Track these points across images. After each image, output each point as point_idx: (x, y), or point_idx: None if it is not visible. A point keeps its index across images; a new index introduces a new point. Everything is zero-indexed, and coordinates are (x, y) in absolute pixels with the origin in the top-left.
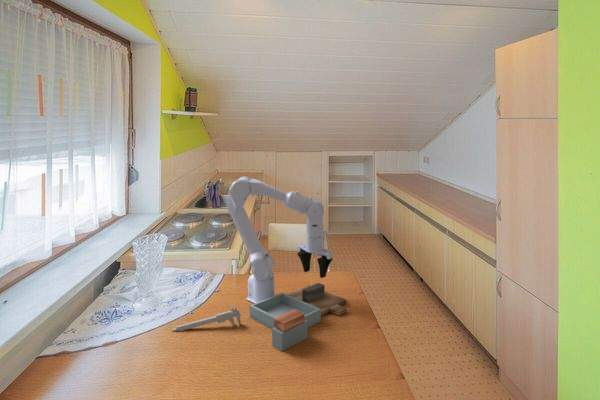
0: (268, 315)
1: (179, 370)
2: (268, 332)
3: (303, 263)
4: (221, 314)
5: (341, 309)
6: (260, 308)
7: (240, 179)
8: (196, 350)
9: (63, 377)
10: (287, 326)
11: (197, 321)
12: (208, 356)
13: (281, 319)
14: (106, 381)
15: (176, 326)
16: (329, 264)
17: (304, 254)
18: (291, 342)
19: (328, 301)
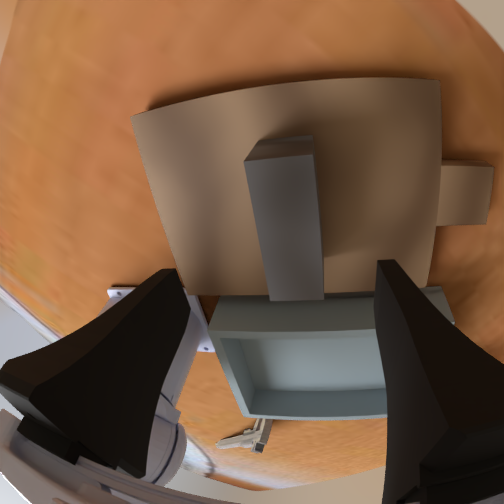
0: (333, 419)
1: (331, 465)
2: None
3: (159, 382)
4: (249, 447)
5: (484, 196)
6: (247, 383)
7: None
8: (303, 452)
9: (257, 484)
10: None
11: (230, 446)
12: (332, 451)
13: None
14: (291, 481)
15: (217, 447)
16: (473, 343)
17: (126, 458)
18: None
19: (386, 172)
